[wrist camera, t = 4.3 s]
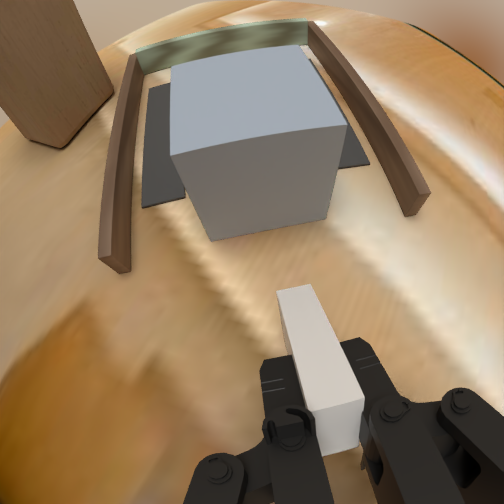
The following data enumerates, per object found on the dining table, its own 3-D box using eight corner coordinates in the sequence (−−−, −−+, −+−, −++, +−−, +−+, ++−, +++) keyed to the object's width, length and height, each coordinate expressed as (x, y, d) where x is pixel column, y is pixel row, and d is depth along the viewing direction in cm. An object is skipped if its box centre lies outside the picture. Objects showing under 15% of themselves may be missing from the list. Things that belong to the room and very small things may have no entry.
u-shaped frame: (118, 273, 20) (94, 255, 17) (137, 73, 31) (128, 52, 27) (415, 214, 20) (433, 188, 17) (312, 40, 30) (313, 17, 27)
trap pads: (142, 208, 22) (141, 207, 22) (149, 89, 29) (149, 88, 28) (369, 164, 22) (370, 163, 22) (310, 60, 28) (310, 58, 28)
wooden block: (74, 88, 32) (17, -20, 14) (119, 90, 30) (58, -47, 11) (26, 141, 29) (-52, 34, 10) (63, 153, 26) (-32, 12, 8)
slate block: (211, 241, 21) (170, 155, 12) (200, 155, 24) (171, 66, 16) (325, 219, 21) (347, 124, 12) (296, 137, 24) (298, 44, 16)
